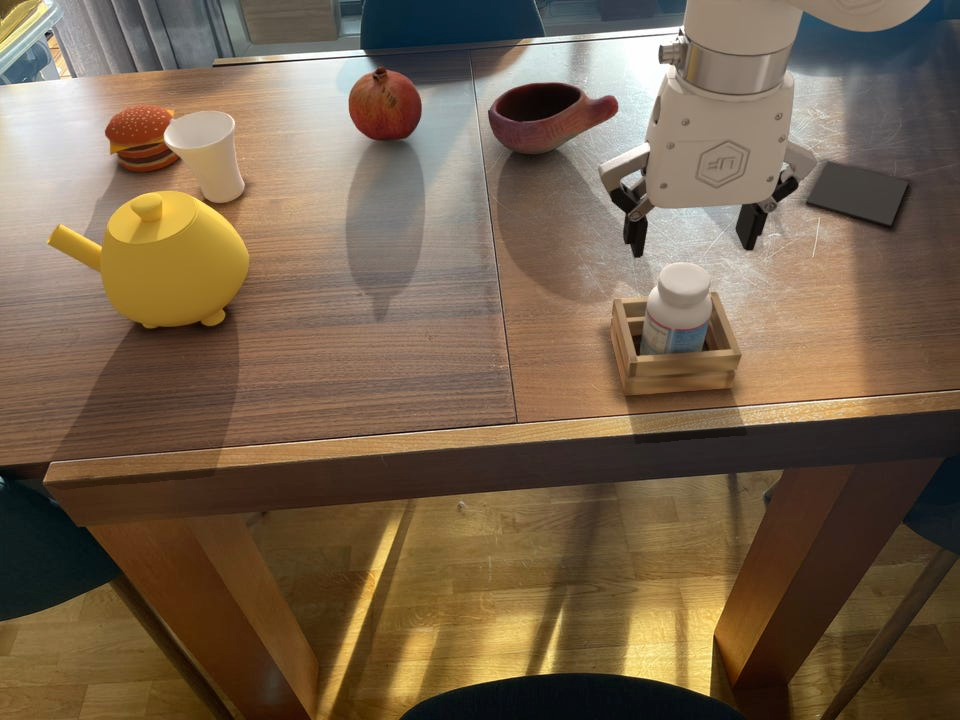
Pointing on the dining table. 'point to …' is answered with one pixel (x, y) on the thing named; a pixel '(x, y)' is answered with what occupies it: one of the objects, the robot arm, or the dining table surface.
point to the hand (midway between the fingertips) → (689, 244)
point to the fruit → (385, 105)
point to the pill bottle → (677, 311)
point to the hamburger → (141, 138)
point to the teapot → (164, 260)
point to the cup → (208, 152)
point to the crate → (672, 368)
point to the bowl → (546, 116)
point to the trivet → (858, 193)
